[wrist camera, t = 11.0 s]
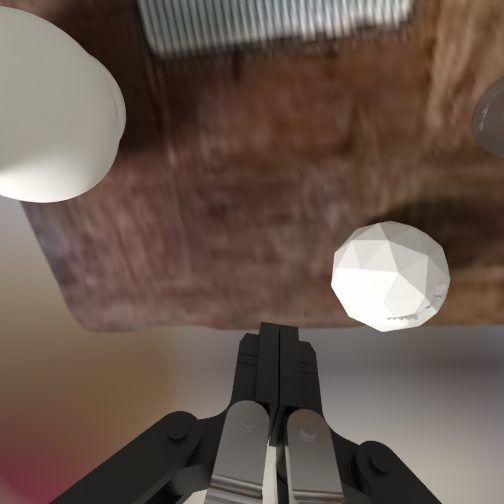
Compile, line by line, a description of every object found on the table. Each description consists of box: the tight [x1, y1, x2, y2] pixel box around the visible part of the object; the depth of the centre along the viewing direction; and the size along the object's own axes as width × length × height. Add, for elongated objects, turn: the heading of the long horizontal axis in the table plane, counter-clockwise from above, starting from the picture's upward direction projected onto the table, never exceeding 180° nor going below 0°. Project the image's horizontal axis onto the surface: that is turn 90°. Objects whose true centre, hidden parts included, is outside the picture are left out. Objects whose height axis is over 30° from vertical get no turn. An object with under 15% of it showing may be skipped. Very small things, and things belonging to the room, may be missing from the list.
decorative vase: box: [0, 6, 126, 202], centre depth 30 cm, size 18×18×25 cm
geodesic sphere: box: [331, 221, 450, 332], centre depth 41 cm, size 15×14×14 cm
